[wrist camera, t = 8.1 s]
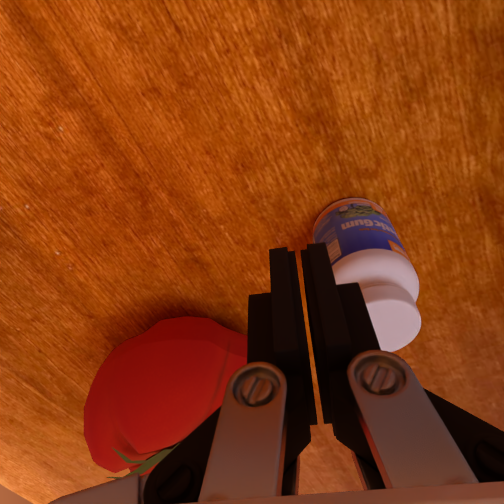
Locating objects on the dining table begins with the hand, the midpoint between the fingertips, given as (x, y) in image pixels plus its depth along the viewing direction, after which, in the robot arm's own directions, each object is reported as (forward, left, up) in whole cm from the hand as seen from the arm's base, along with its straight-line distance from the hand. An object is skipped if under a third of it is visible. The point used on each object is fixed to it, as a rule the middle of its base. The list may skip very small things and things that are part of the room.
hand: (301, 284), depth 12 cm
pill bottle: (-4, +8, -15) cm, 18 cm away
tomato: (+10, +18, -15) cm, 26 cm away
